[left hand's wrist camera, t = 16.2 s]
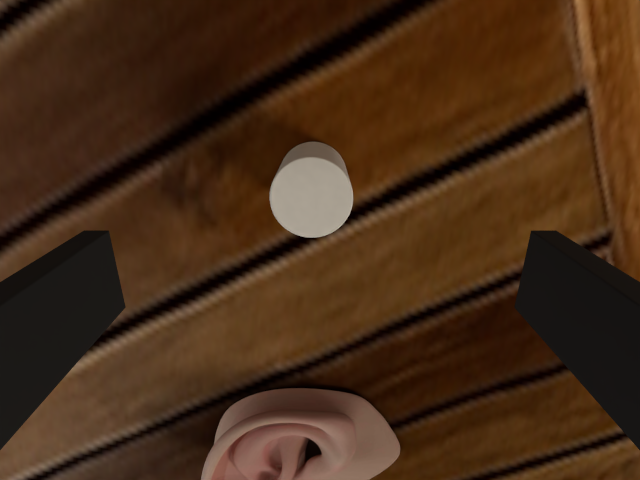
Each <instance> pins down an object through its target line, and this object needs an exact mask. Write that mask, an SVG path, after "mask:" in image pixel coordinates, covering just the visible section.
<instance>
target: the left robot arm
mask: <svg viewBox="0 0 640 480" xmlns="http://www.w3.org/2000/svg"><path fill="white" fill-rule="evenodd" d="M124 308H125V303H124V298H123V294H122V289H121V285H120V280H119V276H118V271H117V266H116V262H115V257H114V253H113V248H112V243H111V239H110V234H109V231H83V232H81V233H79V234H78V235H76V236H75V237H73V238H71V239H70V240H68V241H66V242H65V243H63V244H62V245H60V246H58V247H57V248H55V249H54V250H52V251H50V252H49V253H47V254H45V255H44V256H42V257H41V258H39V259H37V260H36V261H34V262H32V263H31V264H29V265H28V266H26V267H24V268H23V269H21V270H19V271H18V272H16V273H15V274H13V275H11V276H10V277H8V278H6V279H5V280H3V281H2V282H0V450H1V449H2V447H3V446H4V445H5V444H6V443H7V442H8V441H9V439H10V438H11V437H12V436H13V435H14V434H15V433H16V431H17V430H18V429H19V428H20V427H21V426H22V425H23V423H24V422H25V421H26V420H27V419H28V418H29V417H30V416H31V414H32V413H33V412H34V411H35V410H36V409H37V408H38V406H39V405H40V404H41V403H42V402H43V401H44V400H45V398H46V397H47V396H48V395H49V394H50V393H51V392H52V390H53V389H54V388H55V387H56V386H57V385H58V384H59V382H60V381H61V380H62V379H63V378H64V377H65V376H66V374H67V373H68V372H69V371H70V370H71V369H72V368H73V366H74V365H75V364H76V363H77V362H78V361H79V360H80V359H81V357H82V356H83V355H84V354H85V353H86V352H87V351H88V349H89V348H90V347H91V346H92V345H93V344H94V343H95V341H96V340H97V339H98V338H99V337H100V336H101V335H102V333H103V332H104V331H105V330H106V329H107V328H108V327H109V325H110V324H111V323H112V322H113V321H114V320H115V319H116V317H117V316H118V315H119V314H120V313H121V312H122V311H123V309H124ZM515 308H516V309H517V311H518V312H519V313H520V314H521V315H522V316H523V317H524V319H525V320H526V321H527V322H528V323H529V324H530V325H531V327H532V328H533V329H534V330H535V331H536V332H537V333H538V335H539V336H540V337H541V338H542V339H543V340H544V341H545V343H546V344H547V345H548V346H549V347H550V348H551V349H552V351H553V352H554V353H555V354H556V355H557V356H558V357H559V359H560V360H561V361H562V362H563V363H564V364H565V365H566V366H567V368H568V369H569V370H570V371H571V372H572V373H573V374H574V376H575V377H576V378H577V379H578V380H579V381H580V382H581V384H582V385H583V386H584V387H585V388H586V389H587V390H588V392H589V393H590V394H591V395H592V396H593V397H594V398H595V400H596V401H597V402H598V403H599V404H600V405H601V406H602V408H603V409H604V410H605V411H606V412H607V413H608V414H609V416H610V417H611V418H612V419H613V420H614V421H615V422H616V423H617V425H618V426H619V427H620V428H621V429H622V430H623V431H624V433H625V434H626V435H627V436H628V437H629V438H630V439H631V441H632V442H633V443H634V444H635V445H636V446H637V447H638V449H639V450H640V282H638V281H637V280H635V279H634V278H632V277H630V276H629V275H627V274H625V273H624V272H622V271H621V270H619V269H617V268H616V267H614V266H612V265H611V264H609V263H608V262H606V261H604V260H603V259H601V258H599V257H598V256H596V255H595V254H593V253H591V252H590V251H588V250H586V249H585V248H583V247H582V246H580V245H578V244H577V243H575V242H573V241H572V240H570V239H569V238H567V237H565V236H564V235H562V234H561V233H559V232H557V231H531V234H530V239H529V243H528V248H527V253H526V257H525V262H524V266H523V271H522V276H521V280H520V285H519V289H518V294H517V298H516V303H515Z"/></svg>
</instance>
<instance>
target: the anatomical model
mask: <svg viewBox="0 0 640 480" xmlns="http://www.w3.org/2000/svg"><path fill="white" fill-rule="evenodd" d="M399 454H400V444H399V442H398V439H397V437H396V435H395V434H394V432H393V431H392V429H391V428H390V426H389V425H388V423H387V422H386V420H385V419H384V418H383V416H382V415H381V414H380V413H379V412H378V411H377V410H376V409H375V408H374V407H373V406H372V405H371V404H370V403H369V402H368V401H366V400H365V399H363V398H362V397H360V396H357V395H354V394H351V393H346V392H340V391H333V390H323V389H309V388H287V389H276V390H270V391H265V392H260V393H257V394H254V395H251V396H248V397H246V398H243V399H241V400H240V401H238V402H236V403H235V404H233V405H232V406H231V407H230V408H229V409H228V410H227V411H226V412H225V413H224V415H223V417H222V419H221V420H220V423H219V425H218V428H217V432H216V436H215V441H214V445H213V447H212V449H211V451H210V452H209V454H208V457H207V459H206V462H205V465H204V468H203V472H202V477H201V480H369V479H371V478H372V477H374V476H376V475H378V474H379V473H381V472H382V471H384V470H385V469H386V468H388V467H389V466H390V465H391V464H393V462H394V461H395V460H396V459H397V458H398V456H399Z"/></svg>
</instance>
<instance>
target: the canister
mask: <svg viewBox="0 0 640 480" xmlns="http://www.w3.org/2000/svg"><path fill="white" fill-rule="evenodd" d="M270 205H271V209H272V212H273V214H274V216H275V218H276V219H277V220H278V222H279V223H280V224H281V225H282V226H283V227H284V228H285V229H287V230H288V231H290V232H291V233H294V234H296V235H299V236H303V237H310V238H312V237H321V236H325V235H328V234H330V233H332V232H334V231H335V230H337V229H338V228H339V227H340V226H341V225H342V224H343V223H344V222H345V221H346V219H347V218H348V216H349V214H350V211H351V209H352V205H353V191H352V186H351V183H350V180H349V176H348V173H347V170H346V166H345V163H344V161H343V159H342V157H341V156H340V155H339V153H338V152H337V151H336V150H335V149H333V148H332V147H330V146H328V145H327V144H324V143H320V142H306V143H302V144H299V145H297V146H296V147H294V148H293V149H291V150H290V151H289V152H288V153H287V155H286V156H285V158H284V159H283V161H282V163H281V165H280V167H279V169H278V172H277V174H276V176H275V178H274V180H273V182H272V185H271V188H270Z"/></svg>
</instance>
